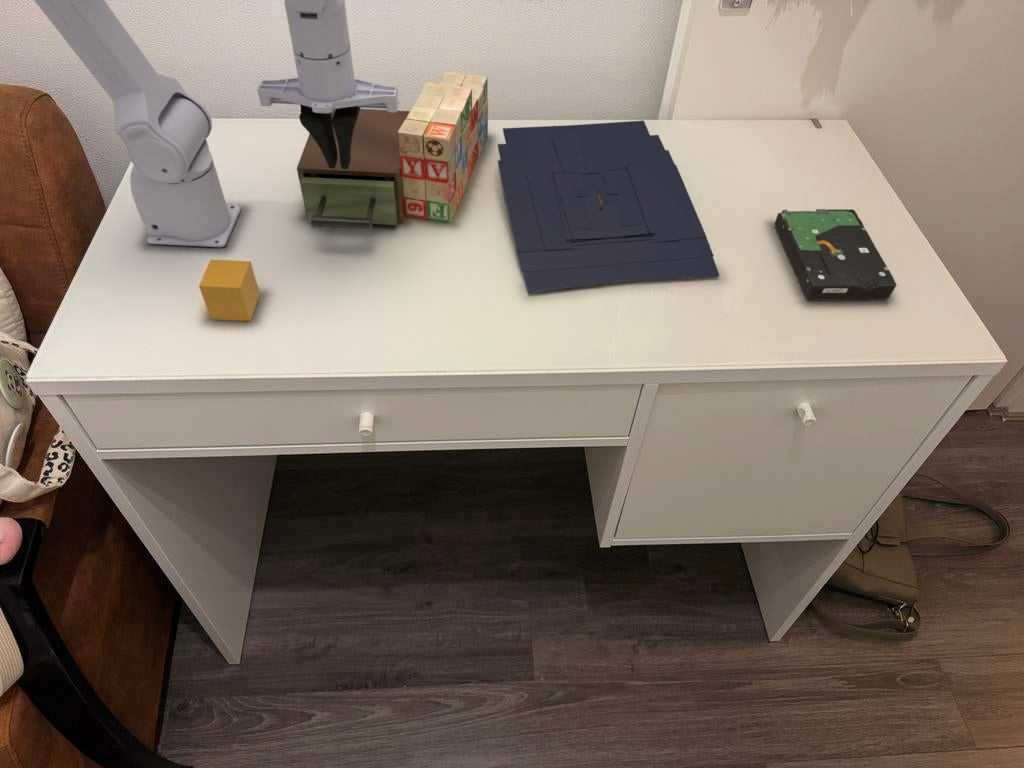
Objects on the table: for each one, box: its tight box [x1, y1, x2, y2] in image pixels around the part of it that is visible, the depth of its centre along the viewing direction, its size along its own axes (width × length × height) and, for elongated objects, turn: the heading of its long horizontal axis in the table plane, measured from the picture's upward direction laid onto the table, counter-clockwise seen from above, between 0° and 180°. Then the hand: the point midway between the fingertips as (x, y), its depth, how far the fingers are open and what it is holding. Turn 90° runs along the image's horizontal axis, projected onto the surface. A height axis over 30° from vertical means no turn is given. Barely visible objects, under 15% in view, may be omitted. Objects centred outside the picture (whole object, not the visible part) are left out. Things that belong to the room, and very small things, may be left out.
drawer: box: [299, 173, 398, 231], centre depth 95 cm, size 19×11×6 cm, turn 179°
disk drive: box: [774, 208, 897, 301], centre depth 93 cm, size 10×3×15 cm
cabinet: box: [296, 108, 411, 224], centre depth 98 cm, size 14×12×7 cm
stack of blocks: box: [398, 71, 489, 224], centre depth 99 cm, size 21×6×12 cm, turn 168°
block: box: [198, 259, 261, 322], centre depth 83 cm, size 4×4×5 cm
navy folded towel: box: [497, 120, 721, 294], centre depth 98 cm, size 24×30×4 cm
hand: (339, 163), depth 86 cm, fingers closed
